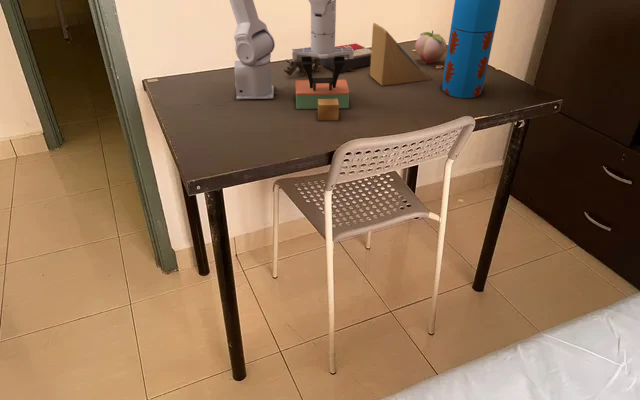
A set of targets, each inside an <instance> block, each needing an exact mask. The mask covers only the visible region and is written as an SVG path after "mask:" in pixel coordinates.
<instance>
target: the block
mask: <svg viewBox="0 0 640 400" xmlns="http://www.w3.org/2000/svg"><path fill="white" fill-rule="evenodd" d="M339 113H340V108H339V103H338V99H318V109H317V118H318V121H339V117H340V116H339Z"/></svg>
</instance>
